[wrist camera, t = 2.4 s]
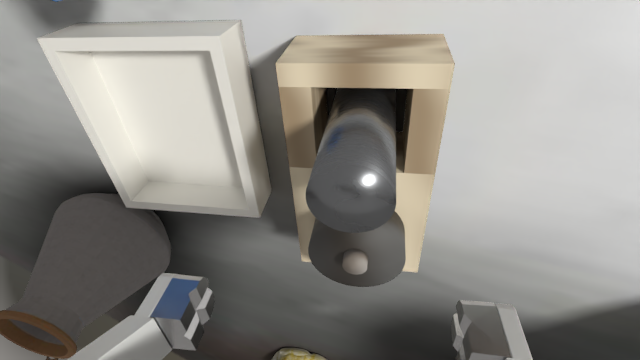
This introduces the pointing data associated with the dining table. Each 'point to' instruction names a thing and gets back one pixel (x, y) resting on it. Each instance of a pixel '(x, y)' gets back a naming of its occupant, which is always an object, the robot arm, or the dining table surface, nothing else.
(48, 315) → the coffee pot
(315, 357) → the bread roll
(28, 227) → the dining table surface
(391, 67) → the plate
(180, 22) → the tray
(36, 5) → the dining table surface
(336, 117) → the pin
